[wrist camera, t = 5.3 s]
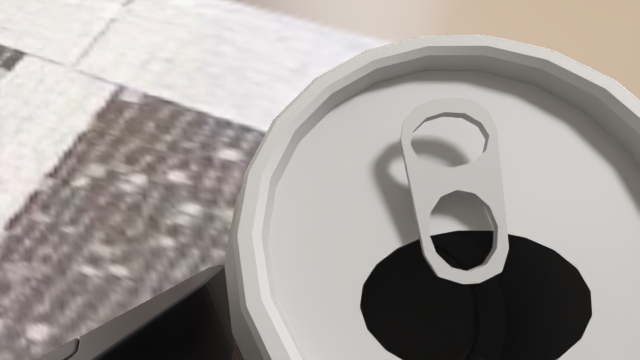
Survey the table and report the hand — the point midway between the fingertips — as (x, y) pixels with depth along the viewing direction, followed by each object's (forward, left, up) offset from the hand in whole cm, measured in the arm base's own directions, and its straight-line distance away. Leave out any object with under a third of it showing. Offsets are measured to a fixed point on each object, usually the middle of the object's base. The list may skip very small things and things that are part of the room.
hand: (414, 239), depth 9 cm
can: (-1, 0, -8) cm, 8 cm away
